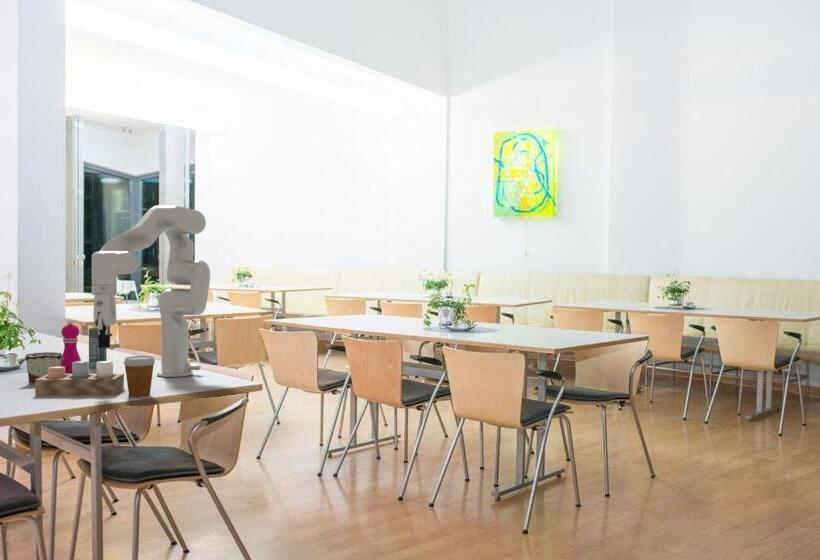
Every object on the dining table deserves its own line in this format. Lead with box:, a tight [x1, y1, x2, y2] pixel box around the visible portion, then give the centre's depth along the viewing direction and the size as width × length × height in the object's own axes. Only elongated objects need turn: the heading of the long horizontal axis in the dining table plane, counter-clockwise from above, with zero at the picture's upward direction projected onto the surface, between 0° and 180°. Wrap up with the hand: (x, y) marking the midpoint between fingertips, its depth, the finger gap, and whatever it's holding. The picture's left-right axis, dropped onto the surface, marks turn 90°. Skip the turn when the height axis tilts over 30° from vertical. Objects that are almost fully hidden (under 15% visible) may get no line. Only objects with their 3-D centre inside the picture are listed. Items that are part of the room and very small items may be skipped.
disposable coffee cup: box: [122, 355, 156, 398], centre depth 260 cm, size 10×10×12 cm
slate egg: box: [72, 360, 90, 378], centre depth 265 cm, size 5×5×6 cm
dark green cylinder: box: [88, 327, 108, 369], centre depth 319 cm, size 6×6×15 cm
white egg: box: [95, 360, 114, 378], centre depth 266 cm, size 5×5×6 cm
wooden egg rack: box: [34, 373, 125, 396], centre depth 265 cm, size 24×12×5 cm, turn 95°
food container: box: [23, 351, 64, 385], centre depth 283 cm, size 12×6×10 cm, turn 111°
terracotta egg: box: [48, 367, 65, 378], centre depth 264 cm, size 5×5×6 cm
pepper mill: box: [60, 319, 82, 374], centre depth 298 cm, size 7×7×20 cm
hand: (104, 347), depth 265 cm, fingers closed
